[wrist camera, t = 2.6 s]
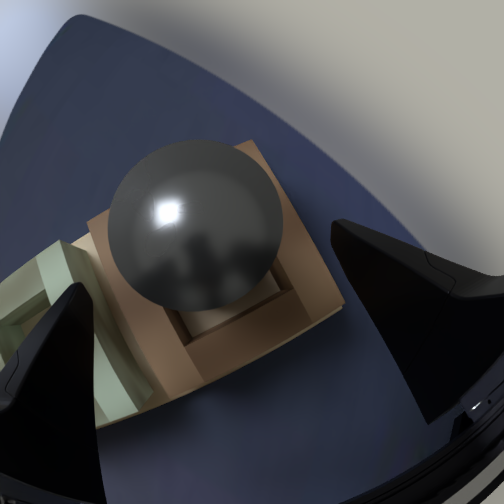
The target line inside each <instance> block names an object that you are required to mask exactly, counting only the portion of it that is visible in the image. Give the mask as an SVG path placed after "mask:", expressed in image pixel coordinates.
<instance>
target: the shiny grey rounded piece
mask: <svg viewBox="0 0 504 504" xmlns="http://www.w3.org/2000/svg"><path fill="white" fill-rule="evenodd" d="M282 234H283V211H282V206H281V201H280V198H279V195H278V192H277V190H276V188H275V186H274V184H273V182H272V180H271V179H270V177H269V176H268V174H267V173H266V171H265V170H264V169H263V168H262V167H261V166H260V165H259V164H258V163H257V162H256V161H255V160H254V159H252V158H251V157H250V156H249V155H247V154H246V153H244V152H242V151H241V150H239V149H237V148H234V147H232V146H230V145H227V144H224V143H221V142H216V141H210V140H187V141H181V142H177V143H173V144H170V145H167V146H164V147H162V148H160V149H158V150H156V151H154V152H152V153H150V154H149V155H147V156H146V157H145V158H143V159H142V160H141V161H139V162H138V163H137V164H136V165H135V166H134V167H133V168H132V169H131V170H130V171H129V173H128V174H127V175H126V176H125V178H124V179H123V181H122V182H121V184H120V185H119V187H118V189H117V191H116V193H115V195H114V198H113V201H112V203H111V207H110V211H109V216H108V241H109V246H110V251H111V254H112V257H113V260H114V262H115V264H116V266H117V268H118V270H119V272H120V273H121V275H122V276H123V278H124V279H125V280H126V281H127V283H128V284H129V285H130V286H131V287H132V288H133V289H134V290H135V291H136V292H138V293H139V294H140V295H141V296H143V297H144V298H146V299H148V300H149V301H151V302H153V303H155V304H157V305H160V306H162V307H165V308H169V309H172V310H178V311H186V312H199V311H206V310H212V309H216V308H219V307H222V306H225V305H227V304H230V303H232V302H234V301H236V300H237V299H239V298H241V297H242V296H244V295H246V294H247V293H248V292H249V291H250V290H252V289H253V288H254V287H255V286H256V285H257V284H258V283H259V282H260V281H261V280H262V279H263V278H264V276H265V275H266V273H267V272H268V270H269V269H270V268H271V266H272V264H273V262H274V260H275V258H276V256H277V253H278V250H279V247H280V244H281V239H282Z"/></svg>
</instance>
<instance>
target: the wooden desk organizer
mask: <svg viewBox="0 0 504 504" xmlns="http://www.w3.org/2000/svg"><path fill="white" fill-rule="evenodd" d="M234 148H237V149H239V150H241V151H242V152H244V153H246V154H247V155H249V156H250V157H251V158H252V159H254V160H255V161H256V162H257V163H258V164H259V165H260V166H261V167H262V168H263V169H264V170H265V171H266V173H267V174H268V176H269V177H270V179H271V180H272V182H273V184H274V186H275V188H276V190H277V192H278V195H279V198H280V201H281V206H282V211H283V234H282V239H281V244H280V247H279V250H278V253H277V256H276V258H275V260H274V262H273V264H272V266H271V268H270V269H269V270H268V272H267V273H266V275H265V276H264V278H263V279H262V280H261V281H260V282H259V283H258V284H257V285H256V286H255V287H254V288H253V289H252V290H250V291H249V292H248V293H247V294H246V295H244V296H242V297H241V298H239V299H237V300H236V301H234V302H232V303H230V304H227V305H225V306H222V307H219V308H216V309H212V310H206V311H199V312H186V311H178V310H172V309H169V308H165V307H162V306H160V305H157V304H155V303H153V302H151V301H149V300H148V299H146V298H144V297H143V296H141V295H140V294H139V293H138V292H136V291H135V290H134V289H133V288H132V287H131V286H130V285H129V284H128V283H127V281H126V280H125V279H124V278H123V276H122V275H121V273H120V272H119V270H118V268H117V266H116V264H115V262H114V260H113V257H112V254H111V251H110V246H109V241H108V216H109V211H110V208H109V209H108V210H106V211H104V212H103V213H101V214H99V215H98V216H96V217H94V218H93V219H91V220H89V221H88V222H87V225H88V228H89V231H90V233H88V234H86V235H85V236H83V237H81V238H80V239H78V240H77V241H75V242H74V243H72V244H68V243H66V242H63V241H61V240H58V241H57V242H55V243H54V244H53V245H51V246H50V247H48V248H47V249H45V250H44V251H42V252H41V253H40V254H38V255H37V256H35V257H34V258H33V259H31V260H30V261H29V262H27V263H26V264H25V265H23V266H22V267H21V268H19V269H18V270H17V271H15V272H14V273H13V274H12V275H10V276H9V277H8V278H6V279H5V280H4V281H3V282H1V283H0V371H1V370H2V369H3V367H4V366H5V365H6V363H7V362H8V361H9V359H10V358H11V357H12V355H13V354H14V353H15V351H16V350H18V347H19V346H20V345H21V343H22V342H23V341H24V339H25V338H26V337H27V335H28V334H29V333H30V332H31V330H32V329H33V328H34V327H35V325H36V324H37V323H38V322H39V320H40V319H41V318H42V317H43V315H44V314H45V313H46V312H47V311H48V310H49V308H50V307H51V306H52V305H53V304H54V303H55V301H56V300H57V299H58V298H59V297H60V296H61V294H62V293H63V292H64V291H65V290H66V289H67V288H68V287H69V286H70V285H71V284H72V283H76V282H82V283H83V284H84V286H85V288H86V289H87V291H88V293H89V294H90V296H91V298H92V300H93V312H94V407H95V424H96V429H99V428H102V427H105V426H108V425H111V424H114V423H116V422H119V421H122V420H125V419H127V418H130V417H133V416H135V415H138V414H141V413H143V412H146V411H148V410H151V409H153V408H156V407H158V406H160V405H163V404H165V403H167V402H170V401H172V400H174V399H177V398H179V397H181V396H184V395H186V394H188V393H190V392H192V391H195V390H197V389H199V388H201V387H203V386H205V385H207V384H209V383H212V382H214V381H216V380H218V379H220V378H222V377H224V376H226V375H228V374H230V373H232V372H234V371H236V370H238V369H240V368H241V367H243V366H245V365H247V364H249V363H251V362H253V361H255V360H257V359H258V358H260V357H262V356H264V355H266V354H268V353H269V352H271V351H273V350H275V349H277V348H278V347H280V346H282V345H284V344H285V343H287V342H289V341H290V340H292V339H294V338H296V337H297V336H299V335H301V334H302V333H304V332H306V331H307V330H309V329H311V328H312V327H314V326H315V325H317V324H319V323H320V322H322V321H323V320H325V319H327V318H328V317H330V316H331V315H333V314H334V313H336V312H338V311H339V310H341V309H342V305H343V304H345V301H344V299H343V297H342V295H341V293H340V291H339V289H338V287H337V285H336V283H335V281H334V280H333V278H332V276H331V274H330V272H329V270H328V268H327V266H326V264H325V263H324V261H323V259H322V257H321V255H320V253H319V252H318V250H317V248H316V246H315V244H314V243H313V241H312V239H311V237H310V235H309V234H308V232H307V230H306V228H305V227H304V225H303V223H302V221H301V220H300V218H299V216H298V214H297V213H296V211H295V209H294V207H293V206H292V204H291V202H290V201H289V199H288V197H287V196H286V194H285V192H284V191H283V189H282V187H281V186H280V184H279V182H278V181H277V179H276V177H275V176H274V174H273V172H272V171H271V169H270V168H269V166H268V164H267V163H266V161H265V160H264V158H263V156H262V155H261V153H260V152H259V150H258V148H257V147H256V145H255V144H254V142H253V141H252V139H251V140H249V141H246V142H244V143H242V144H239V145H237V146H234Z"/></svg>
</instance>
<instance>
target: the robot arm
mask: <svg viewBox="0 0 504 504" xmlns="http://www.w3.org/2000/svg"><path fill="white" fill-rule="evenodd" d="M331 246H332V248H333V250H334V252H335V254H336V256H337V258H338V260H339V262H340V264H341V266H342V268H343V271H344V273H345V275H346V277H347V279H348V280H349V282H350V284H351V285H352V287H353V289H354V290H355V292H356V294H357V295H358V297H359V299H360V300H361V302H362V304H363V305H364V307H365V309H366V310H367V312H368V314H369V315H370V317H371V319H372V320H373V322H374V324H375V326H376V327H377V329H378V331H379V333H380V334H381V336H382V338H383V340H384V341H385V343H386V345H387V347H388V349H389V350H390V352H391V354H392V356H393V358H394V360H395V361H396V363H397V365H398V367H399V369H400V371H401V373H402V375H403V377H404V379H405V381H406V383H407V385H408V386H409V388H410V390H411V392H412V394H413V396H414V398H415V400H416V402H417V404H418V406H419V408H420V411H421V413H422V415H423V417H424V419H425V421H426V423H427V424H428V425H429V424H431V423H432V422H434V421H435V420H437V419H438V418H440V417H441V416H442V415H444V414H445V413H447V412H448V411H449V410H451V409H452V408H453V407H455V406H456V405H457V404H459V403H460V404H461V405H462V407H463V408H464V410H465V411H464V412H463V413H462V414H460V415H459V416H458V417H457V418H455V419H454V424H453V429H452V433H451V437H450V441H449V443H447V444H446V445H445V446H443V447H442V448H441V449H439V450H438V451H436V452H435V453H433V454H432V455H430V456H429V457H427V458H426V459H424V460H423V461H421V462H420V463H418V464H416V465H415V466H413V467H412V468H410V469H408V470H407V471H405V472H403V473H401V474H400V475H398V476H396V477H394V478H392V479H391V480H389V481H387V482H385V483H383V484H381V485H379V486H377V487H375V488H373V489H371V490H369V491H367V492H365V493H362V494H360V495H358V496H356V497H353V498H351V499H349V500H346V501H344V502H341V503H339V504H480V503H481V502H482V501H483V500H485V499H486V498H487V497H488V496H489V495H490V494H491V493H492V492H493V491H494V490H495V489H496V488H497V487H498V486H499V485H500V484H501V483H502V482H503V481H504V275H502V276H490V275H486V274H483V273H480V272H478V271H475V270H472V269H470V268H467V267H464V266H462V265H459V264H456V263H454V262H451V261H449V260H446V259H444V258H441V257H439V256H436V255H434V254H432V253H429V252H427V251H424V250H422V249H420V248H417V247H415V246H413V245H410V244H408V243H405V242H403V241H400V240H398V239H395V238H393V237H390V236H388V235H385V234H383V233H380V232H378V231H375V230H372V229H370V228H367V227H364V226H362V225H359V224H356V223H354V222H351V221H348V220H346V219H338V220H334V221H333V222H332V224H331ZM80 503H84V504H107V501H106V496H105V491H104V486H103V480H102V474H101V468H100V461H99V453H98V446H97V436H96V424H95V407H94V312H93V300H92V298H91V296H90V294H89V293H88V291H87V289H86V288H85V286H84V284H83V283H82V282H76V283H72V284H71V285H70V286H69V287H68V288H67V289H66V290H65V291H64V292H63V293H62V294H61V296H60V297H59V298H58V299H57V300H56V301H55V303H54V304H53V305H52V306H51V307H50V308H49V310H48V311H47V312H46V313H45V314H44V315H43V317H42V318H41V319H40V320H39V322H38V323H37V324H36V325H35V327H34V328H33V329H32V330H31V332H30V333H29V334H28V335H27V337H26V338H25V339H24V341H23V342H22V343H21V345H20V346H19V347H18V350H16V351H15V353H14V354H13V355H12V357H11V358H10V359H9V361H8V362H7V363H6V365H5V366H4V367H3V369H2V370H1V371H0V504H80Z"/></svg>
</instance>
